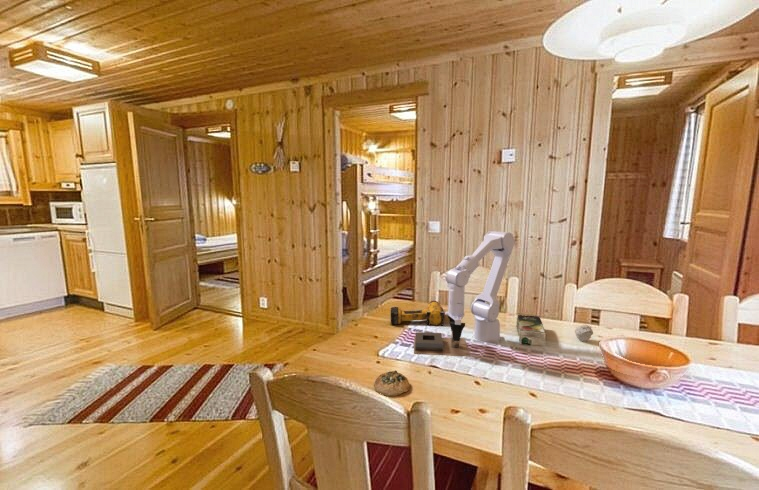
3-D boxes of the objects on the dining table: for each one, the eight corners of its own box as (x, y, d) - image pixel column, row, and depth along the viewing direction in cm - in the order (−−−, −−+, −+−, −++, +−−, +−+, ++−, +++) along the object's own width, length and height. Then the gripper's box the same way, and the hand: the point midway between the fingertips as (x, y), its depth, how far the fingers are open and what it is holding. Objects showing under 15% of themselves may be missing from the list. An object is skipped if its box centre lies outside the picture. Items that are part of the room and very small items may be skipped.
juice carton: (547, 348, 134) (547, 332, 134) (519, 345, 137) (520, 330, 137) (540, 329, 153) (540, 315, 153) (515, 327, 156) (516, 314, 156)
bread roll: (388, 373, 115) (389, 360, 114) (416, 389, 109) (418, 375, 107) (365, 389, 107) (366, 375, 106) (394, 407, 100) (396, 392, 99)
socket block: (441, 340, 139) (441, 333, 139) (442, 351, 129) (442, 343, 129) (415, 339, 140) (415, 332, 140) (415, 350, 130) (415, 342, 130)
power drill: (391, 309, 181) (440, 309, 180) (390, 327, 158) (447, 327, 157) (390, 296, 180) (440, 296, 179) (390, 311, 157) (447, 311, 156)
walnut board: (464, 340, 141) (464, 338, 141) (470, 358, 125) (470, 356, 125) (414, 338, 143) (414, 336, 143) (413, 356, 128) (413, 353, 127)
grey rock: (580, 344, 136) (582, 327, 135) (570, 337, 143) (571, 321, 142) (596, 344, 137) (597, 327, 136) (585, 337, 144) (586, 320, 143)
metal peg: (459, 344, 135) (459, 326, 134) (460, 348, 132) (460, 329, 131) (450, 344, 135) (450, 326, 134) (451, 347, 132) (451, 329, 131)
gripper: (444, 295, 139) (443, 328, 141) (446, 307, 125) (446, 343, 126) (462, 296, 138) (461, 329, 140) (467, 307, 124) (466, 344, 126)
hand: (455, 336), depth 133 cm, fingers open, 7 cm apart
